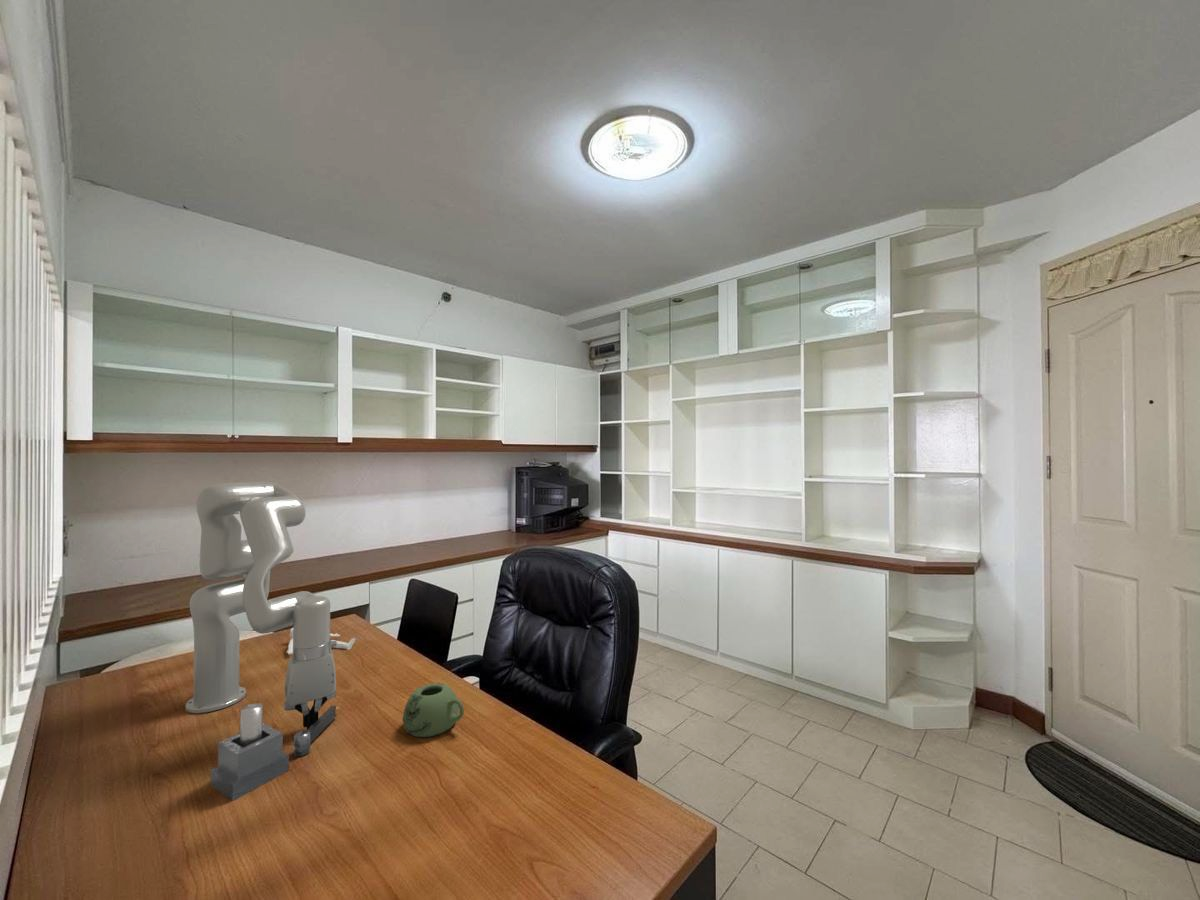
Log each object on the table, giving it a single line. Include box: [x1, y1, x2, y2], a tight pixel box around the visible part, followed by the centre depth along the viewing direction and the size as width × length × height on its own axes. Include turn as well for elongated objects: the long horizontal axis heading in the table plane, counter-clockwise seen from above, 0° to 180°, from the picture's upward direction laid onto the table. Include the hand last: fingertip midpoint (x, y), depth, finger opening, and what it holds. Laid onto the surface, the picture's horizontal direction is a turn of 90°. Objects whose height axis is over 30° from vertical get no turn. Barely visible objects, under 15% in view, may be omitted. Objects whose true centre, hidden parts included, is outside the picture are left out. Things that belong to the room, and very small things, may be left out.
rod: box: [239, 702, 264, 748], centre depth 95 cm, size 4×4×11 cm
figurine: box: [286, 627, 356, 655], centre depth 162 cm, size 6×19×25 cm
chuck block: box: [210, 722, 290, 801], centre depth 95 cm, size 9×10×8 cm
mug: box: [402, 682, 465, 738], centre depth 113 cm, size 16×13×9 cm
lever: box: [293, 704, 341, 758], centre depth 110 cm, size 16×3×4 cm, turn 2°
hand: (310, 727), depth 111 cm, fingers closed
